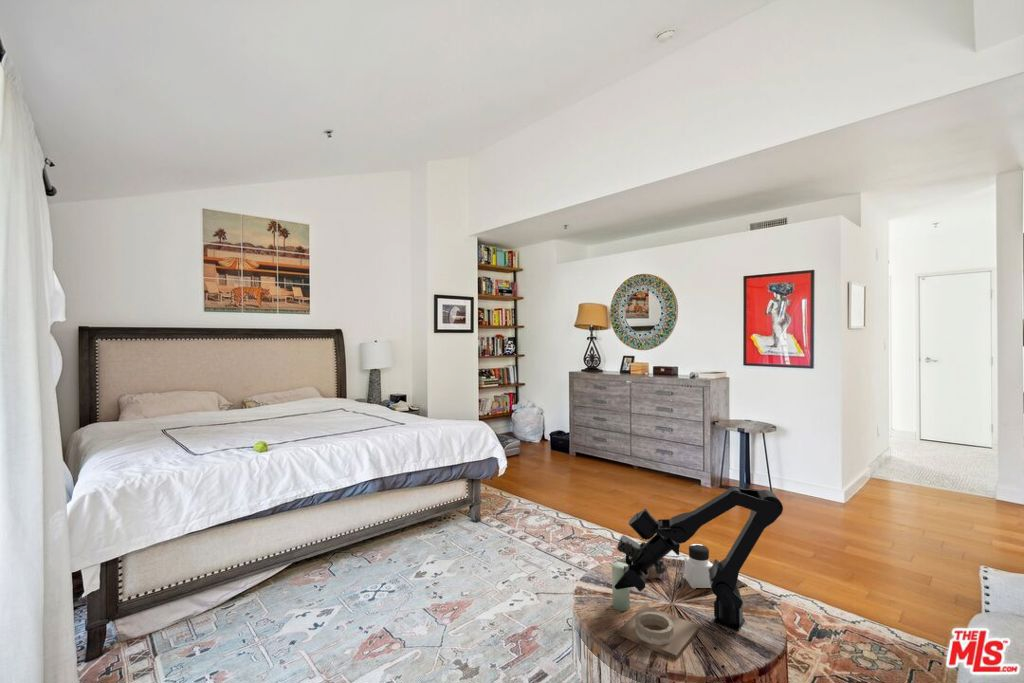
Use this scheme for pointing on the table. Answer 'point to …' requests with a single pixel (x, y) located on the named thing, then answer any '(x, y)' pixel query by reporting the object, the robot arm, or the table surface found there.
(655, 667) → the table surface
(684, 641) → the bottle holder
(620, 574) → the pale green peg
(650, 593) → the table surface
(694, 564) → the medicine bottle
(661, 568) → the dark brown lumpy piece
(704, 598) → the table surface
